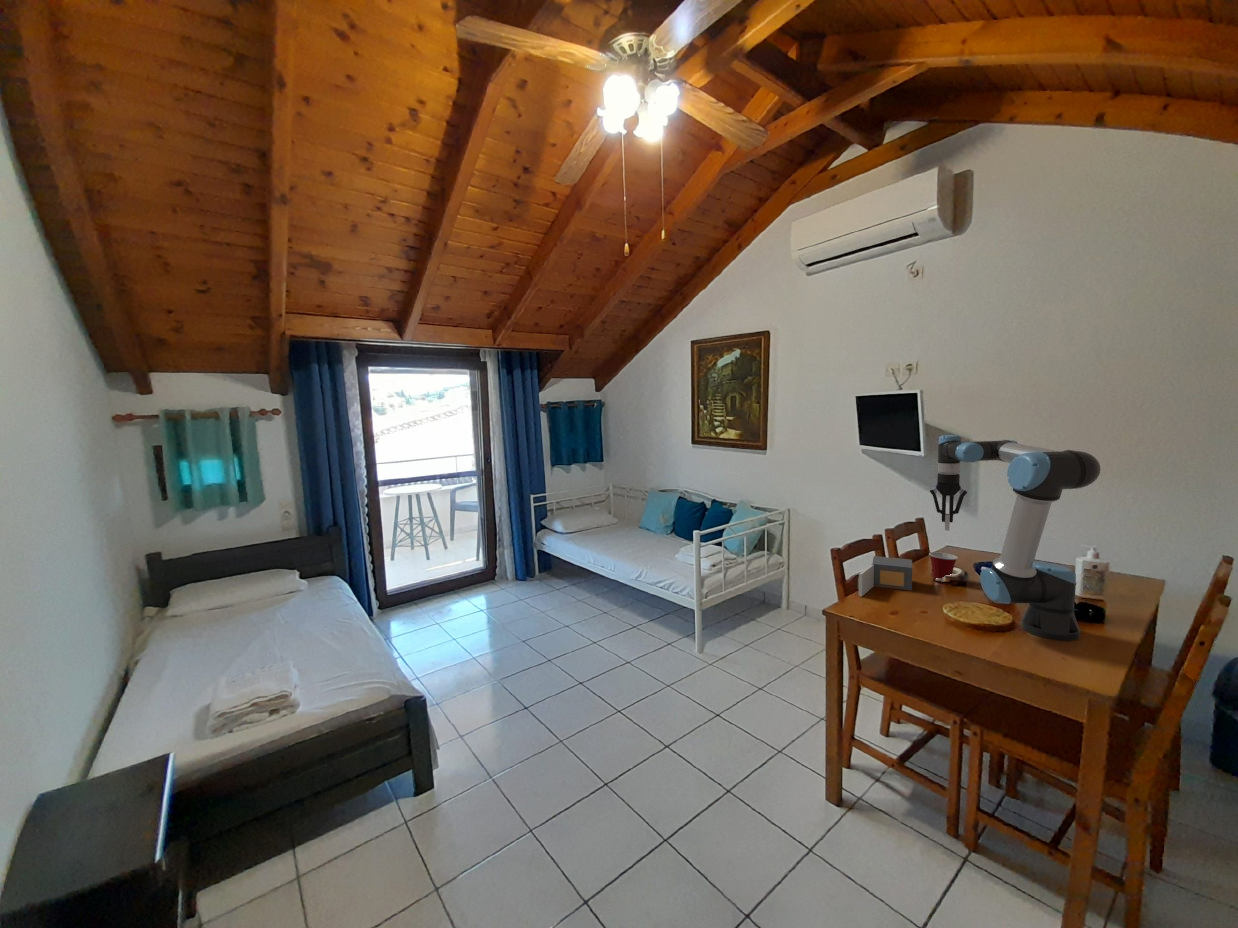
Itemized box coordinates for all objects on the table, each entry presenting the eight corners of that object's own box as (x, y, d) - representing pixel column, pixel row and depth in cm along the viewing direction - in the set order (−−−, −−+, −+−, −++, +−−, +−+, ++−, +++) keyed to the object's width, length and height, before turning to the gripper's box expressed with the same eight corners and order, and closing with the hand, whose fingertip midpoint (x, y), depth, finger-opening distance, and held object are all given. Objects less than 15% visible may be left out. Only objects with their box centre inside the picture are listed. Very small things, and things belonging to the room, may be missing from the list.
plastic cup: (963, 583, 215) (964, 556, 214) (942, 586, 213) (943, 559, 211) (942, 575, 226) (942, 549, 224) (922, 578, 223) (922, 552, 222)
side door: (857, 595, 206) (857, 573, 205) (869, 584, 217) (869, 563, 216) (861, 596, 205) (861, 574, 204) (873, 585, 216) (874, 564, 215)
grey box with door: (911, 590, 209) (912, 567, 208) (872, 586, 217) (872, 563, 215) (911, 580, 221) (911, 558, 220) (873, 576, 229) (873, 555, 227)
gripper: (966, 472, 201) (965, 528, 204) (929, 471, 208) (927, 526, 210) (969, 474, 195) (967, 533, 198) (930, 473, 201) (928, 530, 204)
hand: (946, 529), depth 204 cm, fingers closed
